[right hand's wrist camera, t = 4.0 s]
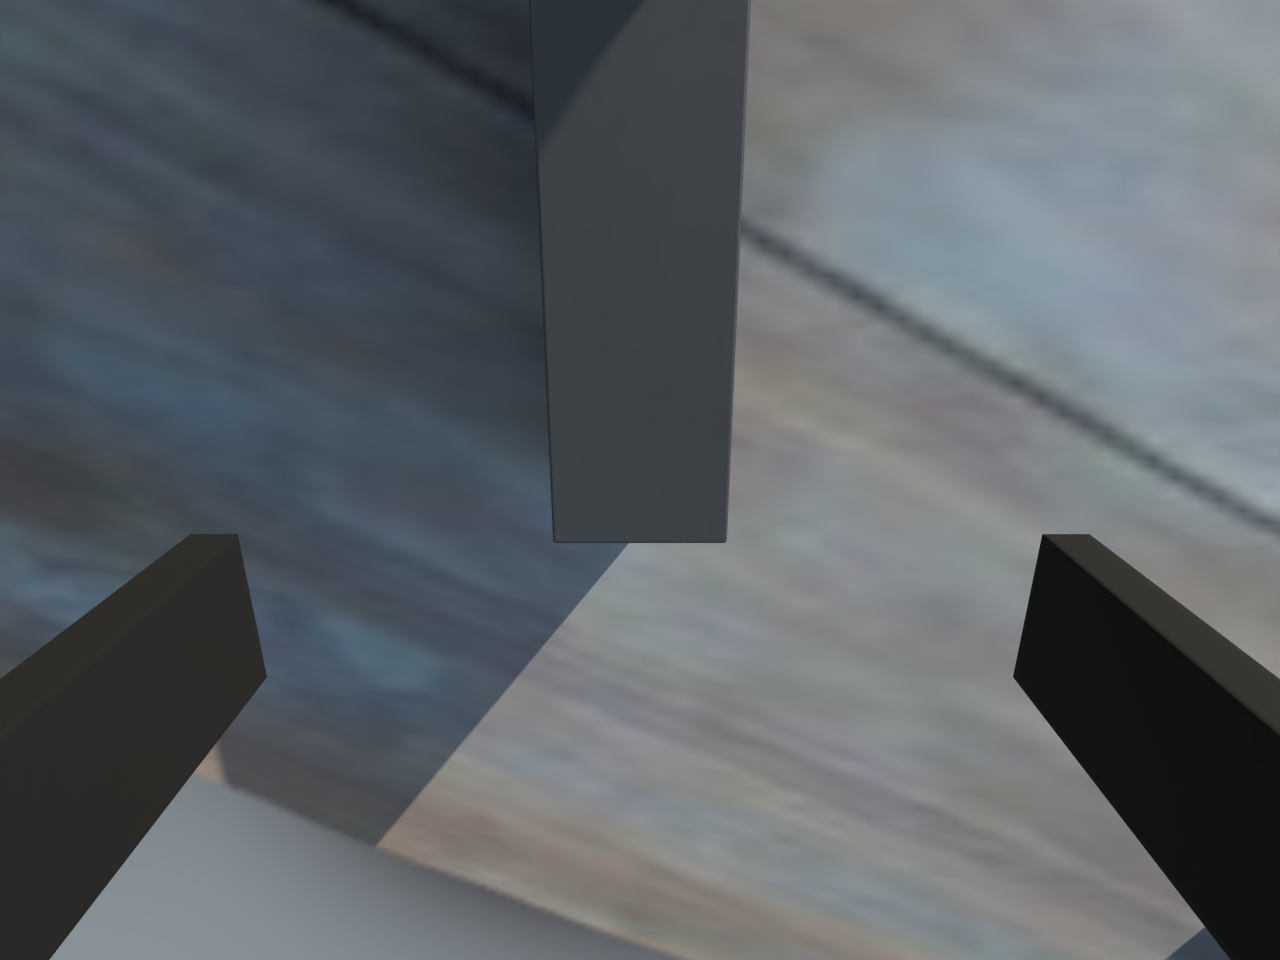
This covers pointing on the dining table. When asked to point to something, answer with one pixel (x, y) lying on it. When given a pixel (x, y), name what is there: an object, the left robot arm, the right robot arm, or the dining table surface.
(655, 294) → the beam
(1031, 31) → the dining table surface
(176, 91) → the dining table surface
